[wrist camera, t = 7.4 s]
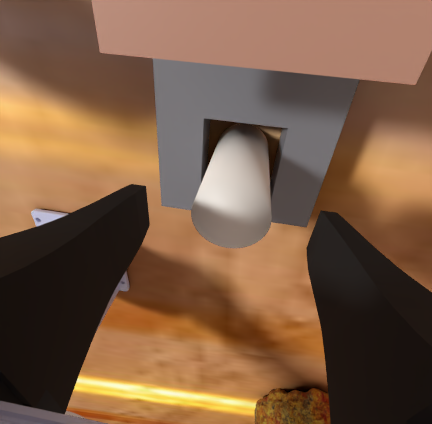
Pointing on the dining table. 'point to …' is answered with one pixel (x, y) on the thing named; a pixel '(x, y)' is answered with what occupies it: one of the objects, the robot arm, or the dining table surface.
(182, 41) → the socket station
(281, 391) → the rock
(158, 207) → the dining table surface
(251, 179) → the peg
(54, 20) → the dining table surface
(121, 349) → the dining table surface
